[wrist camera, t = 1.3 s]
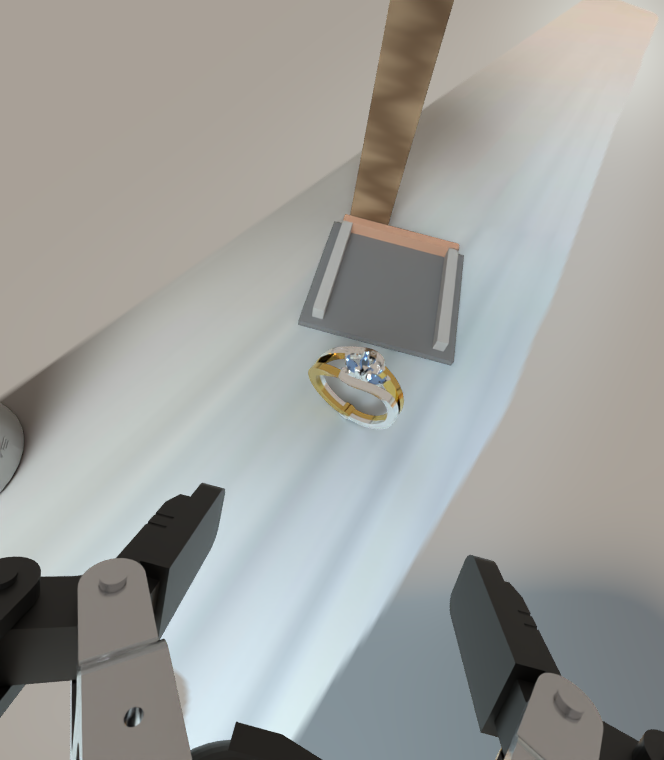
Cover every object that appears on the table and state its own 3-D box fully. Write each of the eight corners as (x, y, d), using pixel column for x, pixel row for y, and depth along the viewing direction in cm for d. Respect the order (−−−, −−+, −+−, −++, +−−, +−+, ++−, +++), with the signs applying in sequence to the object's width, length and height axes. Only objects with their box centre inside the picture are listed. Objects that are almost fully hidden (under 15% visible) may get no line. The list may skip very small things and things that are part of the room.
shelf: (327, 289, 36) (412, -257, 13) (357, 199, 43) (448, -264, 20) (470, 327, 36) (821, -156, 13) (477, 231, 43) (713, -199, 20)
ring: (393, 424, 31) (425, 375, 24) (371, 455, 29) (399, 413, 22) (322, 375, 32) (334, 316, 25) (299, 403, 31) (304, 348, 24)
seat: (298, 324, 34) (299, 311, 33) (333, 226, 41) (335, 211, 39) (450, 365, 34) (459, 354, 32) (461, 259, 41) (468, 246, 39)
